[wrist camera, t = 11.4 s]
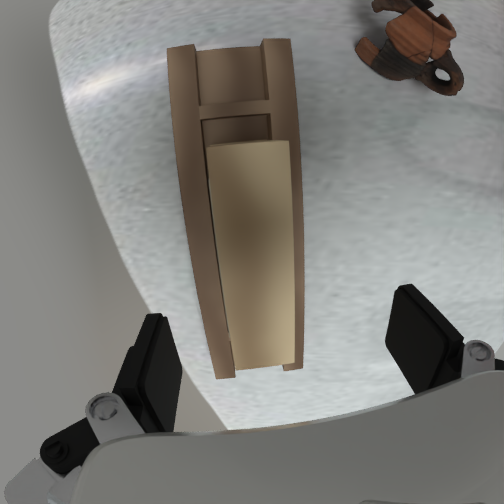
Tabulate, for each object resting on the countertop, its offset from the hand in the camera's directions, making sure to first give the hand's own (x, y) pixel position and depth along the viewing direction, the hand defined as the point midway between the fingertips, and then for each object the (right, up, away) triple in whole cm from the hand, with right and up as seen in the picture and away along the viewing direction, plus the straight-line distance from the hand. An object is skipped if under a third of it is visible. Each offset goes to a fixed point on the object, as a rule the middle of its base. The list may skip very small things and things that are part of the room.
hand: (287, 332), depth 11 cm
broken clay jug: (+13, +23, +9) cm, 28 cm away
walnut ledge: (-2, +6, +15) cm, 16 cm away
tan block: (-2, +5, +13) cm, 14 cm away
